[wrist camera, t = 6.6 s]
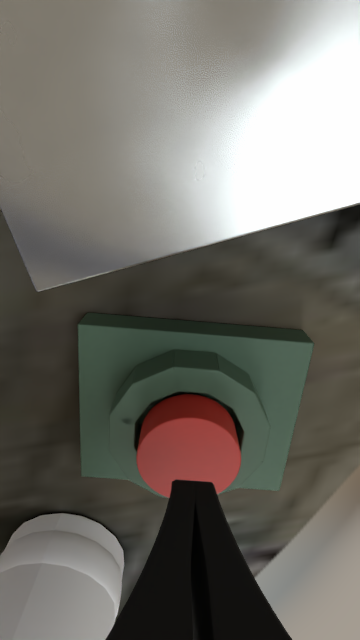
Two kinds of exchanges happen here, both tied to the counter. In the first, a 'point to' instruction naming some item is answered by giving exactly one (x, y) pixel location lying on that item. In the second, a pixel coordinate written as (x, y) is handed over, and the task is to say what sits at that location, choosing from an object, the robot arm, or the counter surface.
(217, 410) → the timer button
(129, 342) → the green base
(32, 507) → the counter surface
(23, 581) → the bottle
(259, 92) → the canister lid
